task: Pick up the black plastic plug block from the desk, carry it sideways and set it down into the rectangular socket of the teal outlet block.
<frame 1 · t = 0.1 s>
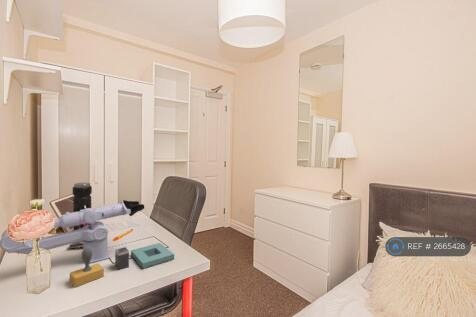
hand: (141, 204, 120), 22 cm above the table, fingers open, 7 cm apart
plug: (122, 266, 101), on the table
rubber stamp: (87, 279, 91), on the table
outlet block: (152, 257, 110), on the table
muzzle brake: (82, 230, 142), on the table
statue: (81, 245, 121), on the table
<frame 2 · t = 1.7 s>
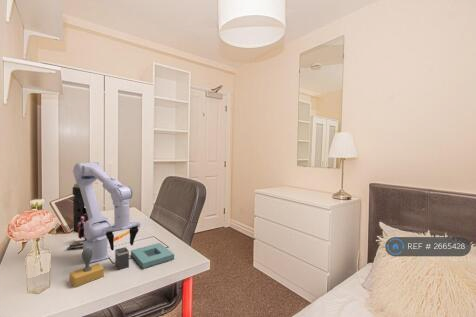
hand: (122, 246, 101), 8 cm above the table, fingers open, 7 cm apart
nothing on the table moved.
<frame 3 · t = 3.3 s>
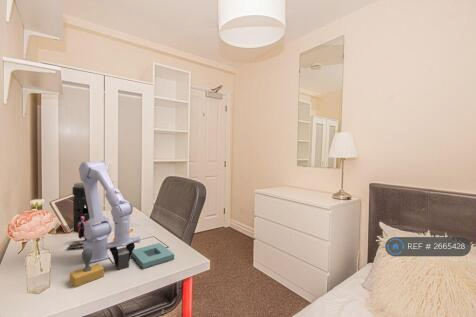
hand: (122, 262, 101), 2 cm above the table, fingers closed on plug, 4 cm apart
plug: (122, 266, 101), on the table, touching gripper
everything else where it was.
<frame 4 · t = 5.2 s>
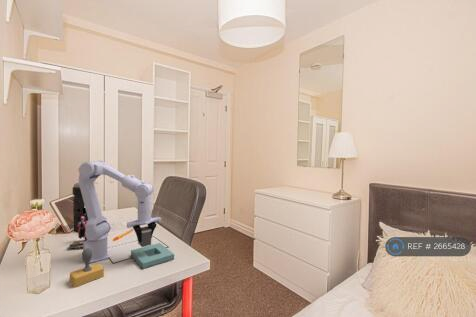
hand: (144, 240, 107), 9 cm above the table, fingers closed on plug, 4 cm apart
plug: (144, 244, 107), point 7 cm above the table, touching gripper
everything else where it was.
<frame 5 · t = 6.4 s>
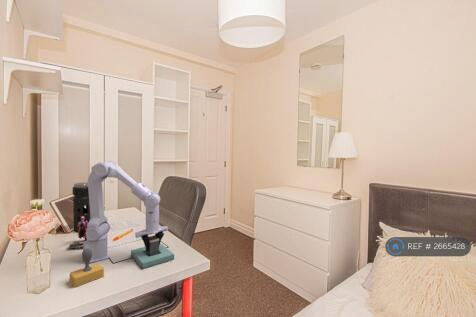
hand: (152, 249, 109), 4 cm above the table, fingers closed on plug, 4 cm apart
plug: (152, 252, 110), point 2 cm above the table, touching gripper
everything else where it was.
when the fingers open (3 cm above the table, at t = 7.3 s): plug drops 1 cm, resting on outlet block.
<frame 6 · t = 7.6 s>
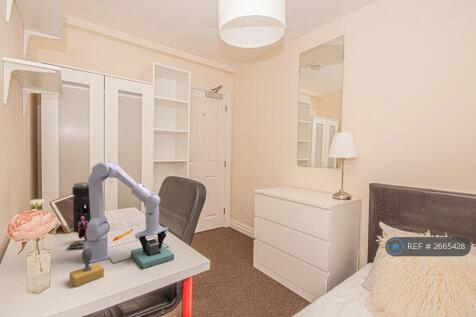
hand: (152, 250, 110), 3 cm above the table, fingers open, 6 cm apart
plug: (152, 256, 110), resting on outlet block
everything else where it was.
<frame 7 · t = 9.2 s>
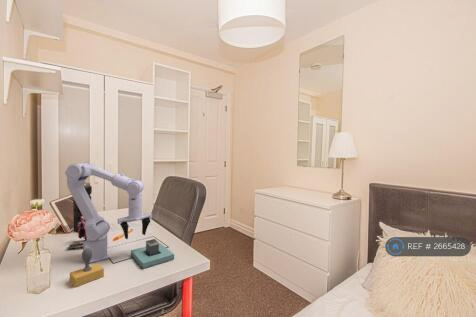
hand: (135, 236, 109), 10 cm above the table, fingers open, 7 cm apart
nothing on the table moved.
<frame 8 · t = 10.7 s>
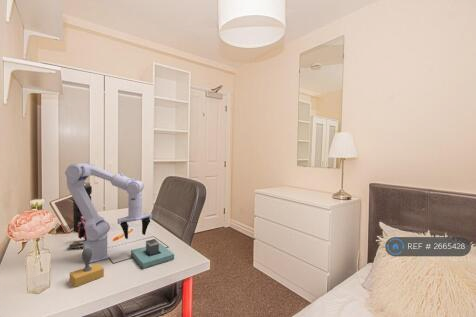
hand: (135, 236, 109), 10 cm above the table, fingers open, 7 cm apart
nothing on the table moved.
at the end: plug 0.1 cm off-centre on the outlet block, point 0.5 cm above the outlet block's base; plug tilted 0°; the gripper is holding nothing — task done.
